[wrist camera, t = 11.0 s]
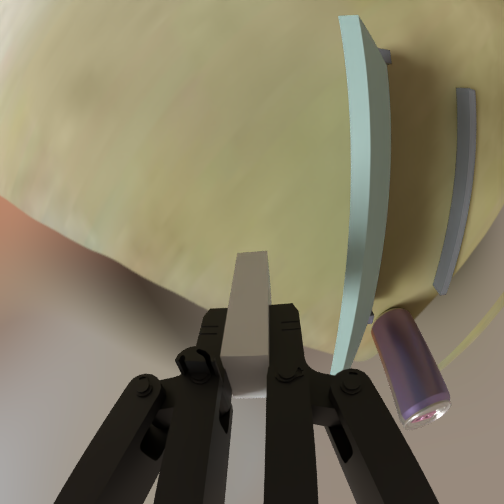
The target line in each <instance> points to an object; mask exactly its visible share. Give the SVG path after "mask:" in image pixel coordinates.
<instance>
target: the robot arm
mask: <svg viewBox="0 0 504 504" xmlns="http://www.w3.org/2000/svg"><path fill="white" fill-rule="evenodd" d="M175 362H176V364H177V366H178V368H179V370H180V372H181V375H179V376H176V377H173V378H169V379H164V380H158V378H157V377H155V376H154V375H152V374H142V375H139V376H137V377H135V378H133V379H132V380H131V382H130V383H129V384H128V386H127V387H126V389H125V390H124V392H123V393H122V395H121V396H120V398H119V399H118V401H117V402H116V404H115V405H114V407H113V408H112V410H111V411H110V413H109V414H108V416H107V418H106V419H105V421H104V422H103V424H102V425H101V427H100V428H99V430H98V431H97V433H96V435H95V436H94V438H93V439H92V441H91V443H90V444H89V446H88V447H87V449H86V450H85V452H84V454H83V455H82V457H81V459H80V460H79V462H78V463H77V465H76V467H75V468H74V470H73V472H72V473H71V475H70V477H69V478H68V480H67V482H66V483H65V485H64V487H63V488H62V490H61V492H60V493H59V495H58V497H57V499H56V501H55V502H54V504H143V503H144V501H145V499H146V497H147V495H148V493H149V491H150V489H151V487H152V486H153V484H154V482H155V479H156V478H157V476H158V474H159V478H158V483H157V489H156V493H155V498H154V504H224V502H225V490H226V479H227V468H228V458H229V447H230V437H231V425H232V415H233V409H232V404H231V397H232V394H233V397H234V398H266V443H265V480H264V504H318V487H317V470H316V456H315V443H314V430H313V424H317V425H322V426H324V427H325V429H326V431H327V434H328V436H329V439H330V441H331V443H332V446H333V448H334V450H335V453H336V455H337V458H338V460H339V462H340V465H341V467H342V470H343V472H344V474H345V477H346V479H347V482H348V484H349V486H350V489H351V491H352V493H353V496H354V498H355V501H356V503H357V504H439V502H438V501H437V499H436V497H435V495H434V493H433V491H432V489H431V487H430V485H429V483H428V481H427V479H426V477H425V475H424V473H423V471H422V470H421V468H420V466H419V464H418V462H417V460H416V458H415V456H414V455H413V453H412V451H411V449H410V447H409V446H408V444H407V442H406V440H405V438H404V437H403V435H402V433H401V431H400V429H399V428H398V426H397V424H396V423H395V421H394V419H393V417H392V415H391V414H390V412H389V410H388V408H387V407H386V405H385V403H384V402H383V400H382V398H381V396H380V395H379V393H378V391H377V390H376V388H375V386H374V385H373V383H372V381H371V380H370V378H369V377H368V376H367V375H366V374H365V373H364V372H362V371H360V370H358V369H345V370H342V371H340V372H338V373H337V374H336V375H329V374H323V373H320V372H317V371H315V370H313V369H311V368H310V367H309V366H308V365H307V363H306V361H305V358H304V350H303V342H302V334H301V326H300V319H299V311H298V310H297V309H296V307H295V306H294V305H293V303H290V304H277V305H271V287H270V276H269V266H268V255H267V251H258V252H245V253H237V259H236V264H235V270H234V276H233V282H232V287H231V293H230V299H229V305H228V308H215V309H210V310H209V311H208V312H207V313H206V315H205V316H204V317H203V321H202V325H201V329H200V333H199V336H198V341H197V345H196V346H194V347H189V348H187V349H185V350H183V351H182V352H181V353H179V354H178V356H177V358H176V359H175ZM159 472H160V473H159Z"/></svg>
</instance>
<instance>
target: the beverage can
mask: <svg viewBox="0 0 504 504" xmlns="http://www.w3.org/2000/svg"><path fill="white" fill-rule="evenodd" d="M371 334H372V337H373V340H374V343H375V345H376V348H377V351H378V354H379V356H380V359H381V362H382V365H383V368H384V371H385V374H386V377H387V380H388V382H389V386H390V389H391V392H392V396H393V399H394V402H395V406H396V409H397V413H398V416H399V419H400V422H401V423H402V424H403V427H404V429H405V430H413V429H417V428H420V427H423V426H425V425H427V424H429V423H431V422H433V421H435V420H437V419H438V418H440V417H441V416H442V415H444V414H445V413H446V412H447V411H448V410H449V409H450V407H451V401H450V394H449V391H448V389H447V387H446V384H445V382H444V380H443V378H442V375H441V373H440V371H439V369H438V367H437V364H436V362H435V360H434V358H433V356H432V354H431V352H430V350H429V348H428V346H427V344H426V342H425V340H424V338H423V336H422V334H421V332H420V330H419V329H418V327H417V325H416V323H415V321H414V319H413V317H412V316H411V314H410V312H409V311H407V310H405V309H402V308H392V309H389V310H387V311H385V312H383V313H382V314H381V315H380V316H378V318H377V319H376V320H375V322H374V324H373V326H372V331H371Z"/></svg>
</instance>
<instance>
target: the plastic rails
mask: <svg viewBox="0 0 504 504" xmlns="http://www.w3.org/2000/svg"><path fill="white" fill-rule="evenodd" d="M378 50H379V51H380V53H381V55H382V57H383V59H384V61H385V63H386V65H389V64H392V63H391V55H390V50H385V49H379V48H378ZM456 93H457V156H456V169H455V180H454V188H453V196H452V203H451V209H450V215H449V221H448V226H447V231H446V236H445V240H444V245H443V249H442V253H441V257H440V261H439V265H438V269H437V272H436V276H435V279H434V283H433V286H434V288H435V289H436V290H437V292H438V293H439V294H440V295H446V293H447V290H448V287H449V284H450V281H451V278H452V275H453V272H454V269H455V265H456V262H457V258H458V255H459V251H460V247H461V243H462V239H463V234H464V230H465V225H466V220H467V215H468V210H469V204H470V198H471V191H472V184H473V175H474V165H475V151H476V96H475V90H473V89H470V88H456ZM373 318H374V314H373V312H372V311H371V314H370V317H369V320H368V323H367V324H372V322H373Z"/></svg>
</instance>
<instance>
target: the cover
mask: <svg viewBox="0 0 504 504" xmlns="http://www.w3.org/2000/svg"><path fill="white" fill-rule="evenodd" d="M338 17H339V22H340V28H341V34H342V41H343V48H344V56H345V64H346V74H347V84H348V96H349V112H350V134H351V199H350V222H349V238H348V252H347V263H346V273H345V283H344V291H343V299H342V307H341V314H340V321H339V327H338V334H337V340H336V346H335V351H334V357H333V363H332V367H331V372H330V375H336V374H337V373H338V372H340V371H342V370H345V369H350V367H351V365H352V362H353V360H354V357H355V355H356V352H357V350H358V347H359V345H360V342H361V340H362V337H363V334H364V331H365V329H366V326H367V323H368V320H369V317H370V314H371V311H372V307H373V302H374V297H375V292H376V287H377V282H378V277H379V271H380V265H381V259H382V252H383V246H384V238H385V230H386V221H387V212H388V201H389V187H390V167H391V113H390V94H389V81H388V71H387V65H386V63H385V61H384V59H383V57H382V55H381V53H380V51H379V50H378V48H377V46H376V44H375V42H374V40H373V39H372V37H371V35H370V34H369V32H368V30H367V29H366V27H365V25H364V24H363V22H362V20H361V19H360V17H359V16H358V15H348V16H338Z"/></svg>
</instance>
